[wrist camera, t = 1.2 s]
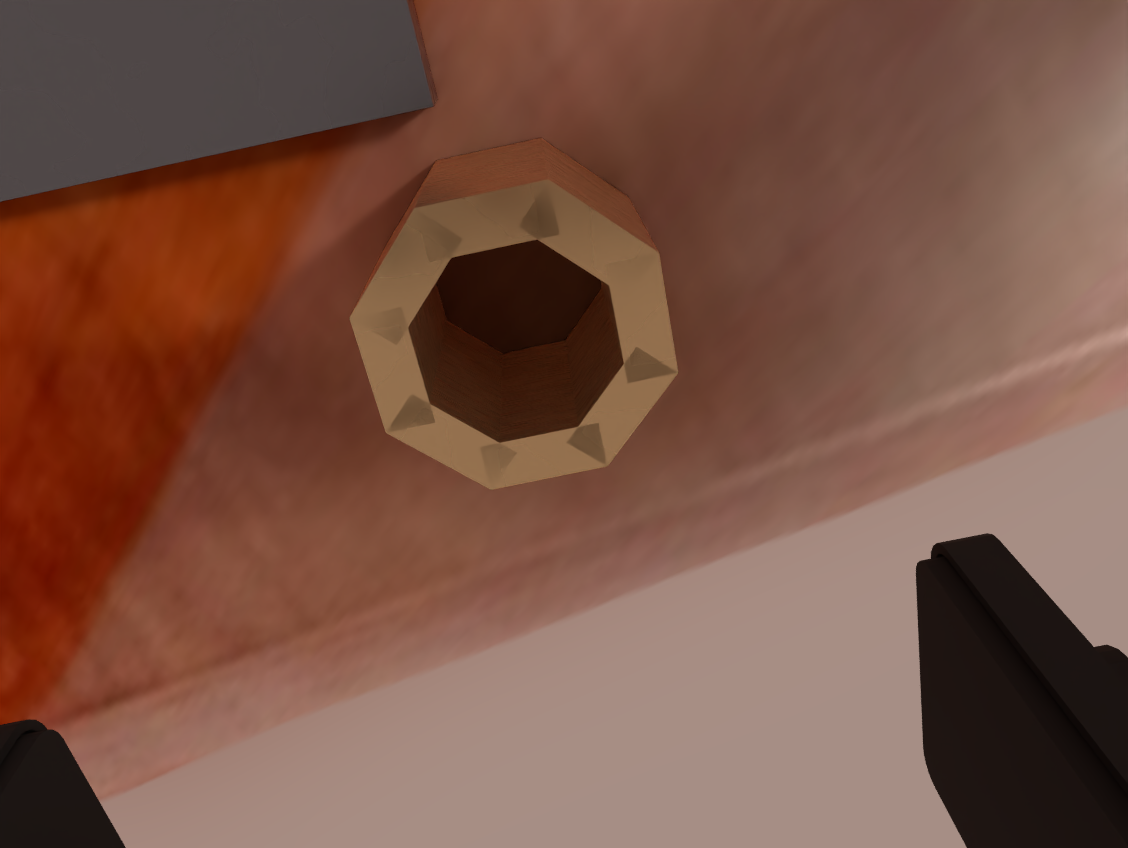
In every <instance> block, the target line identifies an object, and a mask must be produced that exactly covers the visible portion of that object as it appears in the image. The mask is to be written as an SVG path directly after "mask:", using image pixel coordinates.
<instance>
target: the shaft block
mask: <svg viewBox="0 0 1128 848" xmlns="http://www.w3.org/2000/svg"><path fill="white" fill-rule="evenodd" d="M437 100H438V98H437V94H436V90H435V86H434V82H433V78H432V74H431V70H430V66H429V62H428V58H427V54H426V50H425V46H424V42H423V37H422V33H421V29H420V25H419V21H418V17H417V13H416V9H415V5H414V1H413V0H0V202H1V201H5V200H10V199H14V198H19V197H23V196H28V195H33V194H37V193H42V192H46V191H51V190H55V189H60V188H64V187H69V186H74V185H78V184H83V183H87V182H92V181H96V180H101V179H105V178H110V177H114V176H119V175H124V174H128V173H133V172H137V171H142V170H146V169H151V168H155V167H160V166H164V165H169V164H174V163H178V162H183V161H187V160H192V159H196V158H201V157H205V156H210V155H215V154H219V153H224V152H228V151H233V150H237V149H242V148H246V147H251V146H255V145H260V144H265V143H269V142H274V141H278V140H283V139H287V138H292V137H296V136H301V135H305V134H310V133H315V132H319V131H324V130H328V129H333V128H337V127H342V126H346V125H351V124H355V123H360V122H365V121H369V120H374V119H378V118H383V117H387V116H392V115H396V114H401V113H406V112H410V111H415V110H419V109H424V108H428V107H433V106H434V105H435V103H436V102H437Z"/></svg>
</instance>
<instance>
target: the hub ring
mask: <svg viewBox="0 0 1128 848" xmlns="http://www.w3.org/2000/svg"><path fill="white" fill-rule="evenodd" d="M532 240H539V241H540V242H542V243H544V244H545V245H547V246H548V247H550V248H551V249H553V250H555V251H556V252H558V253H559V254H561V255H562V256H564V257H565V258H567V259H569V260H570V261H572V262H573V263H575V264H576V265H578V266H580V267H581V268H583V269H584V270H586V271H587V272H589V273H591V274H592V275H594V276H595V277H597V278H598V279H600V281H601V286H602V288H601V290H600V291H599V293H598V294H597V295H596V297H595V298H594V300H593V301H592V303H591V304H590V306H589V307H588V308H587V310H586V311H585V313H584V314H583V316H582V317H581V319H580V320H579V321H578V323H577V324H576V326H575V327H574V329H573V330H572V331H571V333H570V334H569V336H568V337H567V339H566V340H564V341H559V342H554V343H550V344H545V345H540V346H535V347H530V348H526V349H521V350H516V351H511V352H506V353H501V352H499V351H498V350H496V349H494V348H493V347H491V346H489V345H488V344H486V343H484V342H483V341H481V340H479V339H477V338H476V337H474V336H472V335H471V334H469V333H467V332H466V331H464V330H462V329H461V328H459V327H457V326H456V325H454V324H452V323H450V322H449V321H447V319H446V315H445V312H444V308H443V304H442V301H441V297H440V293H439V290H438V286H437V280H438V278H439V277H440V275H441V273H442V272H443V270H444V269H445V267H446V265H447V264H448V262H449V261H450V259H451V258H452V257H457V256H462V255H466V254H471V253H476V252H480V251H485V250H490V249H494V248H499V247H504V246H509V245H513V244H518V243H523V242H527V241H532ZM349 319H350V322H351V325H352V328H353V331H354V335H355V338H356V341H357V344H358V347H359V350H360V353H361V357H362V360H363V363H364V366H365V369H366V372H367V375H368V379H369V382H370V385H371V388H372V391H373V394H374V397H375V401H376V404H377V407H378V410H379V413H380V416H381V419H382V423H383V426H384V429H385V432H386V433H387V434H389V435H391V436H392V437H394V438H396V439H398V440H400V441H402V442H404V443H405V444H407V445H409V446H411V447H413V448H415V449H416V450H418V451H420V452H422V453H424V454H426V455H427V456H429V457H431V458H433V459H435V460H437V461H438V462H440V463H442V464H444V465H446V466H448V467H450V468H451V469H453V470H455V471H457V472H459V473H461V474H462V475H464V476H466V477H468V478H470V479H472V480H473V481H475V482H477V483H479V484H481V485H483V486H484V487H486V488H488V489H490V490H493V489H498V488H503V487H508V486H513V485H518V484H523V483H528V482H533V481H538V480H543V479H548V478H553V477H558V476H563V475H568V474H573V473H578V472H582V471H587V470H592V469H597V468H602V467H607V466H608V465H609V464H610V463H611V461H612V460H613V459H614V457H615V456H616V455H617V453H618V452H619V451H620V449H621V448H622V447H623V445H624V444H625V443H626V441H627V440H628V439H629V437H630V436H631V435H632V433H633V432H634V431H635V429H636V428H637V427H638V425H639V424H640V423H641V422H642V420H643V419H644V418H645V416H646V415H647V414H648V412H649V411H650V410H651V408H652V407H653V406H654V404H655V403H656V402H657V400H658V399H659V398H660V396H661V395H662V394H663V392H664V391H665V390H666V388H667V387H668V386H669V384H670V383H671V382H672V381H673V379H674V378H675V377H676V375H677V374H678V368H677V361H676V355H675V349H674V343H673V337H672V330H671V324H670V318H669V312H668V305H667V299H666V293H665V287H664V281H663V274H662V268H661V262H660V256H659V252H658V250H657V248H656V246H655V244H654V243H653V241H652V239H651V237H650V235H649V233H648V232H647V230H646V228H645V226H644V224H643V222H642V221H641V219H640V217H639V215H638V213H637V211H636V210H635V208H634V206H633V204H632V202H631V201H630V199H629V197H628V196H626V195H625V194H623V193H622V192H620V191H619V190H617V189H616V188H615V187H613V186H612V185H610V184H609V183H607V182H606V181H604V180H603V179H601V178H600V177H598V176H597V175H595V174H594V173H592V172H591V171H589V170H588V169H586V168H585V167H583V166H582V165H580V164H579V163H578V162H576V161H575V160H573V159H572V158H570V157H569V156H567V155H566V154H564V153H563V152H561V151H560V150H558V149H557V148H555V147H554V146H552V145H551V144H549V143H548V142H546V141H545V140H543V139H542V138H538V139H533V140H528V141H524V142H519V143H515V144H510V145H505V146H501V147H496V148H492V149H487V150H482V151H478V152H473V153H469V154H464V155H459V156H455V157H450V158H446V159H441V160H436V161H435V163H434V165H433V166H432V168H431V170H430V172H429V173H428V175H427V177H426V178H425V180H424V182H423V183H422V185H421V187H420V188H419V190H418V192H417V194H416V195H415V197H414V199H413V200H412V202H411V204H410V205H409V207H408V209H407V211H406V212H405V214H404V216H403V217H402V219H401V221H400V222H399V224H398V226H397V228H396V229H395V231H394V233H393V234H392V236H391V238H390V239H389V241H388V243H387V244H386V246H385V248H384V250H383V252H382V254H381V256H380V258H379V260H378V262H377V264H376V266H375V268H374V270H373V272H372V274H371V276H370V278H369V280H368V282H367V284H366V286H365V288H364V290H363V292H362V294H361V296H360V298H359V300H358V302H357V304H356V306H355V308H354V310H353V312H352V314H351V316H350V318H349Z"/></svg>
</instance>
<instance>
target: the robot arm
mask: <svg viewBox="0 0 1128 848" xmlns="http://www.w3.org/2000/svg"><path fill="white" fill-rule="evenodd" d="M916 586H917V610H918V632H919V657H920V681H921V705H922V729H923V749H924V756H925V761H926V765H927V768H928V772H929V774H930V777H931V779H932V782H933V784H934V786H935V788H936V790H937V792H938V794H939V795H940V798H941V799H942V801H943V803H944V805H945V807H946V809H947V811H948V813H949V815H950V816H951V818H952V820H953V822H954V824H955V825H956V828H957V830H958V832H959V833H960V835H961V837H962V839H963V841H964V843H965V845H966V847H967V848H1128V657H1127V656H1126V655H1125V654H1123V653H1122V652H1121V651H1120V650H1119V649H1117V648H1114V647H1112V646H1109V645H1103V646H1097V647H1093V646H1092V644H1091V643H1090V642H1089V641H1088V640H1087V639H1086V638H1085V636H1084V635H1083V634H1082V633H1081V632H1080V631H1079V630H1078V629H1077V627H1076V626H1075V625H1074V624H1073V623H1072V622H1071V621H1070V620H1069V618H1068V617H1067V616H1066V615H1065V614H1064V613H1063V612H1062V610H1061V609H1060V608H1059V607H1058V606H1057V605H1056V604H1055V603H1054V601H1053V600H1052V599H1051V598H1050V597H1049V596H1048V595H1047V594H1046V592H1045V591H1044V590H1043V589H1042V588H1041V587H1040V586H1039V584H1038V583H1037V582H1036V581H1035V580H1034V579H1033V578H1032V577H1031V576H1030V575H1029V573H1028V572H1027V571H1026V570H1025V569H1024V568H1023V566H1022V565H1021V564H1020V563H1019V562H1018V561H1017V560H1016V559H1015V557H1014V556H1013V555H1012V554H1011V553H1010V552H1009V551H1008V549H1007V548H1006V547H1005V546H1004V545H1003V544H1002V543H1001V541H1000V540H998V539H997V538H996V537H995V536H994V535H992V534H982V535H977V536H972V537H966V538H961V539H956V540H951V541H946V542H941V543H936V544H935V545H934V546H933V548H932V551H931V559H927V560H922V561H919V562H918V563H917V566H916ZM0 848H125V846H124V844H123V842H122V841H121V839H120V837H119V835H118V833H117V832H116V830H115V828H114V827H113V825H112V823H111V822H110V819H109V818H108V816H107V814H106V813H105V811H104V809H103V807H102V806H101V804H100V802H99V800H98V799H97V797H96V795H95V793H94V792H93V790H92V788H91V786H90V785H89V783H88V781H87V779H86V778H85V776H84V774H83V772H82V771H81V769H80V767H79V765H78V764H77V762H76V760H75V758H74V757H73V755H72V753H71V751H70V750H69V748H68V746H67V744H66V743H65V741H64V739H63V738H62V736H61V735H60V734H59V733H58V732H56V731H55V730H47V728H46V727H45V726H44V725H43V724H42V723H40V722H39V721H37V720H23V721H18V722H13V723H8V724H3V725H0Z"/></svg>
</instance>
